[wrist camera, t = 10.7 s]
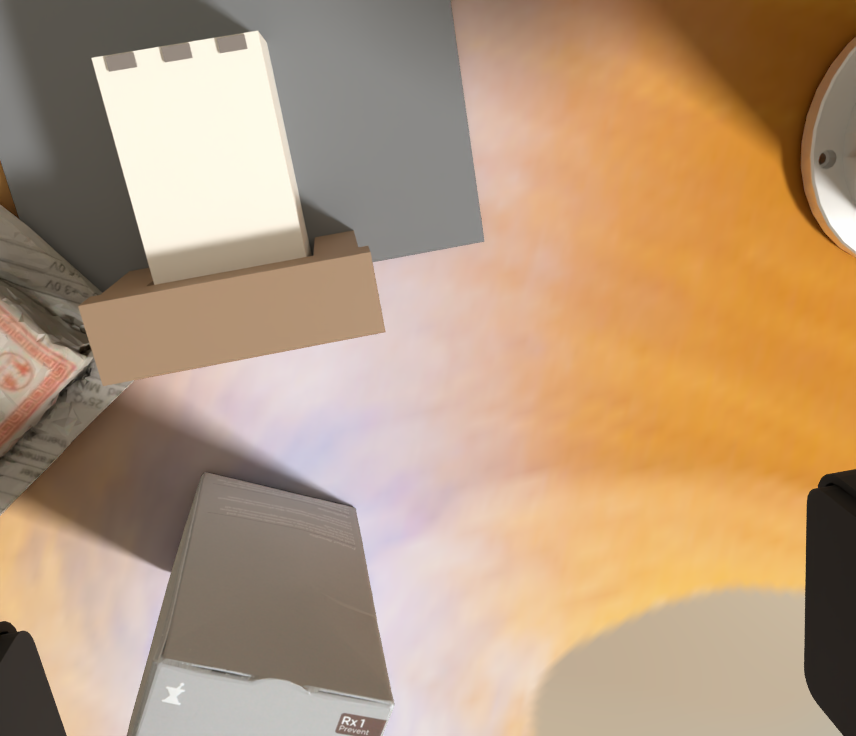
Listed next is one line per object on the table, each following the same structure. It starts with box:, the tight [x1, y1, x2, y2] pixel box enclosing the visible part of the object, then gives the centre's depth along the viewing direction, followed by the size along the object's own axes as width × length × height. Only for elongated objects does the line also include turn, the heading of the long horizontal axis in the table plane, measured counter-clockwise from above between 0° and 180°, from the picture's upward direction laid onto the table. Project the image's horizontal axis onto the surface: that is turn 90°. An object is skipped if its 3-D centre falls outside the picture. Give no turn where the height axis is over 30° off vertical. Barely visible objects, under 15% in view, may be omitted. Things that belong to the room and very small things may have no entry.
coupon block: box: [78, 31, 385, 386], centre depth 32 cm, size 11×12×7 cm
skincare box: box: [127, 472, 394, 736], centre depth 34 cm, size 8×7×16 cm
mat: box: [0, 0, 484, 293], centre depth 34 cm, size 20×22×1 cm
